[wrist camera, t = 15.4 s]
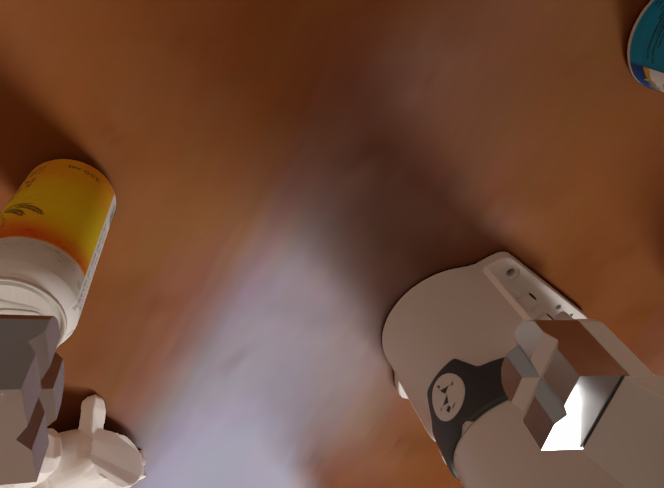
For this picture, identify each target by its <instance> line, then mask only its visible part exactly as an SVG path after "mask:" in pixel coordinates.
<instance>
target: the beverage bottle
mask: <svg viewBox="0 0 664 488" xmlns="http://www.w3.org/2000/svg"><path fill="white" fill-rule="evenodd" d="M627 60H628V65H629V68H630V71H631V73H632V75H633V76H634V78H635V79H636V80H637V81H638V82H639V83H641V84H642V85H644V86H646V87H648V88H651V89H654V90H657V91H661V92H664V0H651V1H650V2H649V3H648V4H647V5H646V6H645V8H644V9H643V10H642V12H641V13H640V15H639V16H638V18H637V20H636V22H635V24H634V26H633V28H632V31H631V34H630V37H629V41H628V47H627Z"/></svg>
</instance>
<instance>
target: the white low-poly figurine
mask: <svg viewBox="0 0 664 488" xmlns="http://www.w3.org/2000/svg"><path fill="white" fill-rule="evenodd" d="M105 413H106V409H105V404H104V400H103V399H102V398H101V397H100V396H98V395H96V394H94V395H92V396H89V397H87V398H86V399H85V400H83V401H82V404H81V418H80V422H79V427H78V429H73V430H69V431H64V432H60V433H58V432H57V431H56V430H54V429H53V428H47V432H48V439H49V445H48V448H47V451H46V454H45V457H44V460H43V464H42V467H41V470H40V473H39V476H38V479H37V482H31V483H19V484H8V485H0V488H130V487H131V486H132V485H134V484H136V483H137V481H138V480H140V479H142V478H144V477H146V476H147V474H146V471H145V469H144V466H143V465H145V460H146V458H145V456H144V450H140V451H139V450H138V448H136V445H134V443H132V441H131V440H129V439H128V437H126V436H125V435H120V434H119V433H114V432H112V431H107V430H104V429H103V427H104V423H105V415H106V414H105Z"/></svg>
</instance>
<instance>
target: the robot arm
mask: <svg viewBox="0 0 664 488" xmlns="http://www.w3.org/2000/svg"><path fill="white" fill-rule="evenodd" d="M509 269H510V270H509ZM508 270H509V271H508ZM507 271H508V272H507ZM59 340H60V330H59V324H58V320H57V318H56V317H55V316H43V315H7V314H0V485H8V484H19V483H31V482H37V479H38V476H39V473H40V470H41V467H42V464H43V460H44V457H45V454H46V451H47V448H48V445H49V439H48V432H47V427H48V426H49V425H50V424H51V423H53V422H54V421H55V420H56V419H57V416H58V413H59V409H60V406H61V401H62V395H63V388H64V364H63V359H62V358H61V357H60V356H59V355H58V354H57V353H56V352H55V351H56V348H57V345H58V342H59ZM382 347H383V351H384V354H385V357H386V358H387V360H388V362H389V363H390V365H391V366H392V368H393V370H394V372H395V387H396V390H397V391H398V393H399V395H400V396H401V397H402V398H406V399H409V401H410V402H411V404H412V406H413V408H414V410H415V411H416V413H417V415H418V417H419V418H420V420H421V422H422V424H423V425H424V427H425V429H426V431H427V432H428V434H429V436H430V437H431V438H432V439H433V440H434V441H435V442H437V445H438V447H439V452H440V454H441V456H442V458H443V460H444V462H445V463H446V464H447V466H448V468H449V470H450V471H451V473H452V475H453V476H454V477H455V478H456V479H457V480H459V481H460V482H461V484H462V486H463V488H664V376H655V375H654V374H653V373H652V372H651V371H650V370H649V369H648V368H647V367H646V366H645V365H644V364H643V363H642V362H641V361H640V360H639V359H638V358H637V357H636V356H635V355H634V354H633V353H632V352H631V351H630V350H629V349H628V348H627V347H626V346H625V345H624V344H623V343H622V342H621V341H620V340H619V339H618V338H617V337H616V336H615V335H614V334H613V333H612V332H611V331H610V330H609V329H608V328H607V327H606V326H605V325H604V324H603V323H602V322H600V321H598V320H596V319H588V318H587V317H586V315H585V314H584V313H583V312H582V311H581V310H580V309H579V308H578V307H576V306H575V305H574V304H573V303H571V302H570V301H569V300H568V299H566V298H565V297H564V296H563V295H561V294H560V293H559V292H558V291H556V290H555V289H554V288H553V287H551V286H550V285H549V284H548V283H546V282H545V281H544V280H542V279H541V278H540V277H539V276H537V275H536V274H535V273H534V272H532V271H531V270H530V269H529V268H527V267H526V266H525V265H524V264H522V263H521V262H520V261H519V260H517V259H516V258H515V257H513V256H512V255H511V254H510V253H508V252H498V253H495V254H493V255H491V256H489V257H487V258H485V259H483V260H481V261H479V262H478V263H476V264H473V265H470V266H466V267H460V268H455V269H450V270H447V271H443V272H441V273H438V274H436V275H433V276H431V277H429V278H427V279H425V280H424V281H422V282H420V283H419V284H417V285H416V286H414V287H413V288H412V289H410V290H409V291H408V292H407V293H406V294H405V295H404V296H403V297H402V298H401V299H400V300H399V301H398V302H397V304H396V305H395V306H394V308H393V309H392V311H391V312H390V314H389V316H388V318H387V320H386V323H385V325H384V329H383V334H382Z"/></svg>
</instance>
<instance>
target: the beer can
mask: <svg viewBox="0 0 664 488" xmlns="http://www.w3.org/2000/svg"><path fill="white" fill-rule="evenodd" d="M115 208H116V197H115V193H114V190H113V188H112V186H111V184H110V183H109V181H108V180H107V179H106V177H105V176H104V175H103V174H102V173H100V172H99V171H98V170H97V169H95V168H93V167H92V166H90V165H88V164H86V163H83V162H80V161H77V160H71V159H55V160H50V161H47V162H44V163H42V164H40V165H39V166H37V167H36V168H34V169H33V170H32V171H31V172H30V174H29V175H28V176H27V178H26V179H25V180H24V182H23V183H22V184H21V186H20V187H19V189H18V190H17V191H16V193H15V194H14V195H13V197H12V198H11V200H10V201H9V202H8V204H7V205H6V206H5V208H4V209H3V211H2V212H1V213H0V314H7V315H43V316H55V317H56V318H57V320H58V324H59V330H60V340H59V342H58V345H57V347H58V346H59V345H60V344H61V343H63V342H64V341H65V340H67V339H68V338H69V337H70V336H71V334H72V333H73V332H74V330H75V328H76V326H77V323H78V320H79V317H80V314H81V311H82V308H83V305H84V302H85V299H86V296H87V293H88V290H89V287H90V284H91V281H92V278H93V275H94V272H95V269H96V266H97V263H98V260H99V257H100V254H101V251H102V248H103V245H104V242H105V239H106V236H107V233H108V230H109V227H110V224H111V221H112V218H113V215H114V212H115Z"/></svg>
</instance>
